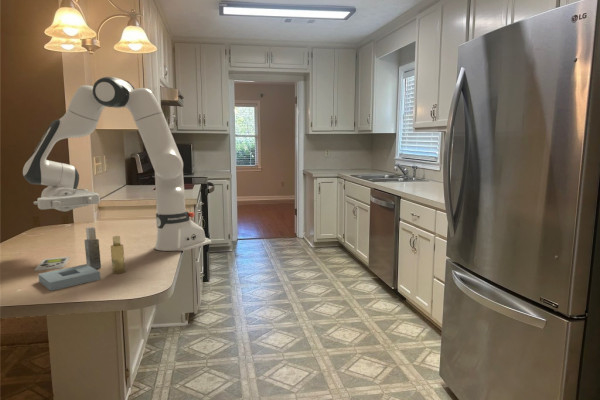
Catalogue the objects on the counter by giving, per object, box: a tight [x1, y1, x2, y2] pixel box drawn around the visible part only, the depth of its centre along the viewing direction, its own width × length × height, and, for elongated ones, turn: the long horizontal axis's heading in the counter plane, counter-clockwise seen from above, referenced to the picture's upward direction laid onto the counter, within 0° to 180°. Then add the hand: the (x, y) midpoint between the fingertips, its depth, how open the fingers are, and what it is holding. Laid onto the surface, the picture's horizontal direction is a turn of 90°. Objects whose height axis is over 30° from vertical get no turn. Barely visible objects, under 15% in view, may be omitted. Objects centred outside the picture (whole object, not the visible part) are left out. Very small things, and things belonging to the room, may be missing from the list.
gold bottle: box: [110, 235, 126, 275], centre depth 139 cm, size 4×4×12 cm
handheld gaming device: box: [34, 256, 71, 272], centre depth 151 cm, size 9×1×15 cm
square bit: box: [84, 226, 102, 270], centre depth 143 cm, size 3×3×14 cm
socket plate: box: [38, 263, 101, 292], centre depth 132 cm, size 14×12×2 cm
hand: (76, 202), depth 150 cm, fingers open, 8 cm apart
